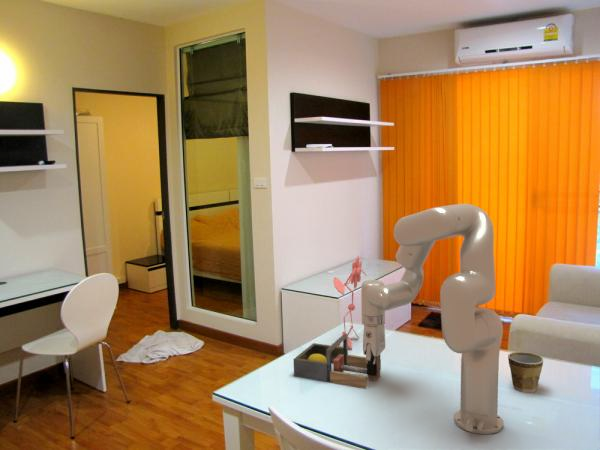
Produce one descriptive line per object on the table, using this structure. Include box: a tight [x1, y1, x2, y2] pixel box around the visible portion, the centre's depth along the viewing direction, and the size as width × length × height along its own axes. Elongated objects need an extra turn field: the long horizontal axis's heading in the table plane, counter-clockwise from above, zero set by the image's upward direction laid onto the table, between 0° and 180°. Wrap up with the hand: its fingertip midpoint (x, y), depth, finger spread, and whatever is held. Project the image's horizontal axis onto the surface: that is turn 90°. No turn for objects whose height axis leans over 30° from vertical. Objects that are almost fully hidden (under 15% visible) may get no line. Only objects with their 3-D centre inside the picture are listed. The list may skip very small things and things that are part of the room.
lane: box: [329, 354, 382, 389], centre depth 175 cm, size 16×12×4 cm
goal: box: [293, 333, 349, 383], centre depth 180 cm, size 16×13×11 cm
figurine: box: [333, 255, 368, 350], centre depth 202 cm, size 15×26×35 cm, turn 157°
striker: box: [332, 353, 381, 381], centre depth 174 cm, size 6×15×9 cm, turn 65°
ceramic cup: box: [507, 351, 544, 394], centre depth 163 cm, size 13×10×10 cm
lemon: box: [307, 354, 327, 363], centre depth 181 cm, size 6×6×8 cm
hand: (373, 372), depth 172 cm, fingers closed on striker, 3 cm apart
